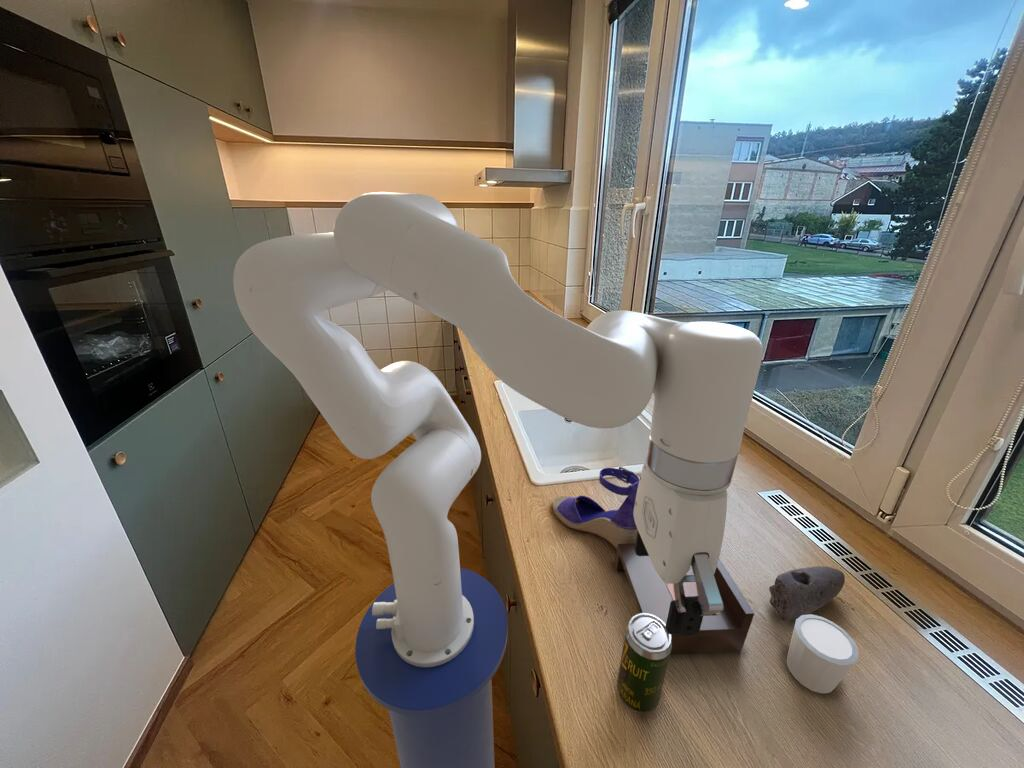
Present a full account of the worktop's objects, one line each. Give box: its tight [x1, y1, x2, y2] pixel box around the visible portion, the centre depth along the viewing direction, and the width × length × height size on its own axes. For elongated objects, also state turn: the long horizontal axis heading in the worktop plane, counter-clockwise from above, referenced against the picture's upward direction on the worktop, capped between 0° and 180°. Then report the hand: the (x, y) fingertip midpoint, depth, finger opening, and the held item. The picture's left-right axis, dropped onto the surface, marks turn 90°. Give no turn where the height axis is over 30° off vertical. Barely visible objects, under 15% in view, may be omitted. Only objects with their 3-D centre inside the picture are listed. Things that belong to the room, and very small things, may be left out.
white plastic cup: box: [786, 613, 859, 695], centre depth 55 cm, size 7×7×7 cm
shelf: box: [614, 543, 755, 656], centre depth 64 cm, size 14×16×8 cm
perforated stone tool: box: [768, 565, 846, 622], centre depth 64 cm, size 15×5×7 cm, turn 108°
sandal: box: [552, 466, 640, 551], centre depth 78 cm, size 8×20×15 cm, turn 33°
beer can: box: [616, 612, 672, 714], centre depth 51 cm, size 5×5×12 cm
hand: (663, 588), depth 45 cm, fingers open, 9 cm apart
